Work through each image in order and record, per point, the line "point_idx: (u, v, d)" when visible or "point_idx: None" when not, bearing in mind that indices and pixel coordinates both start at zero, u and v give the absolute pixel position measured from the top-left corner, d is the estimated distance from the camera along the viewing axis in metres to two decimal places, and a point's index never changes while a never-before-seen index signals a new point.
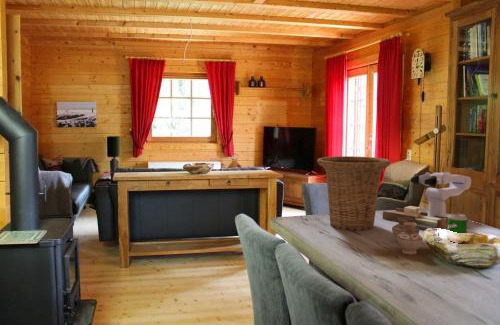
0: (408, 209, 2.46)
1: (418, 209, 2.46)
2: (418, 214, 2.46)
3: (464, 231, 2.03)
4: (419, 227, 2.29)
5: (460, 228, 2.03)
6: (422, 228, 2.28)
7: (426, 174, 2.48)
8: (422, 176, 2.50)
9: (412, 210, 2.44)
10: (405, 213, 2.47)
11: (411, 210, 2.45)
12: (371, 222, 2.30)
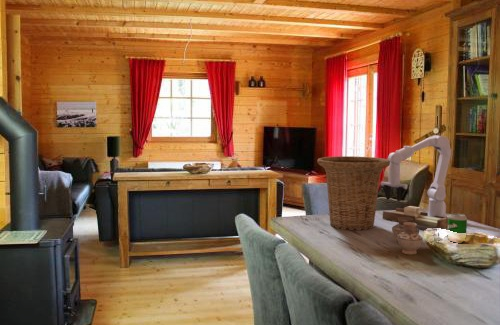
0: (408, 209, 2.46)
1: (418, 209, 2.46)
2: (418, 214, 2.46)
3: (464, 231, 2.03)
4: (419, 227, 2.29)
5: (460, 228, 2.03)
6: (422, 228, 2.28)
7: (390, 185, 2.53)
8: (388, 184, 2.55)
9: (412, 210, 2.44)
10: (405, 213, 2.47)
11: (411, 210, 2.45)
12: (371, 222, 2.30)
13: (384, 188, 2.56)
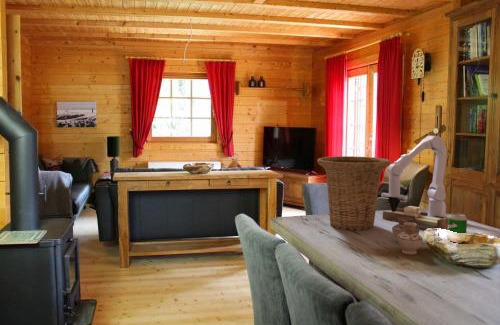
0: (408, 209, 2.46)
1: (418, 209, 2.46)
2: (418, 214, 2.46)
3: (464, 231, 2.03)
4: (419, 227, 2.29)
5: (460, 228, 2.03)
6: (422, 228, 2.28)
7: None
8: (388, 195, 2.55)
9: (412, 210, 2.44)
10: (405, 213, 2.47)
11: (411, 210, 2.45)
12: (371, 222, 2.30)
13: (389, 200, 2.54)
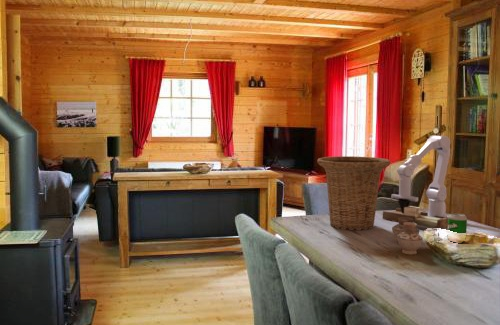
0: (408, 209, 2.46)
1: (418, 209, 2.46)
2: (418, 214, 2.46)
3: (464, 231, 2.03)
4: (419, 227, 2.29)
5: (460, 228, 2.03)
6: (422, 228, 2.28)
7: (401, 197, 2.49)
8: None
9: (412, 210, 2.44)
10: (405, 213, 2.47)
11: (411, 210, 2.44)
12: (371, 222, 2.30)
13: (399, 202, 2.50)
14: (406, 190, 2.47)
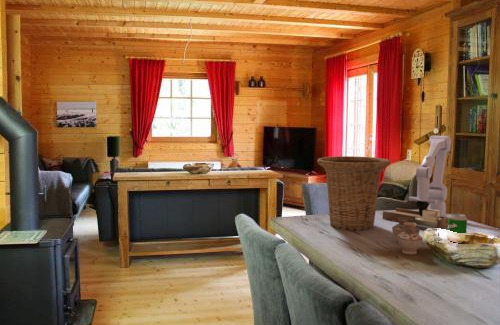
0: (427, 212, 2.38)
1: (437, 212, 2.38)
2: (437, 217, 2.38)
3: (464, 231, 2.03)
4: (419, 227, 2.29)
5: (460, 228, 2.03)
6: (422, 228, 2.28)
7: (419, 200, 2.41)
8: (416, 199, 2.44)
9: (431, 213, 2.36)
10: (424, 216, 2.39)
11: (430, 213, 2.37)
12: (371, 222, 2.30)
13: (418, 204, 2.42)
14: (425, 192, 2.40)
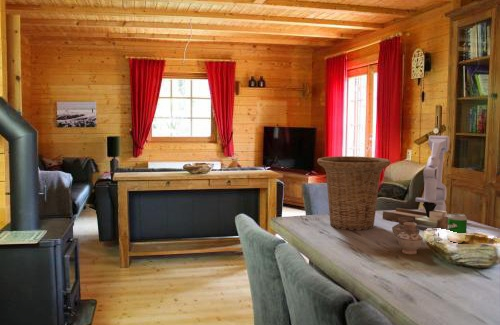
0: (434, 213, 2.35)
1: (444, 213, 2.35)
2: None
3: (464, 231, 2.03)
4: (419, 227, 2.29)
5: (460, 228, 2.03)
6: (422, 228, 2.28)
7: None
8: (423, 200, 2.41)
9: (438, 214, 2.34)
10: (431, 217, 2.37)
11: (437, 214, 2.34)
12: (371, 222, 2.30)
13: (425, 205, 2.39)
14: (432, 193, 2.37)
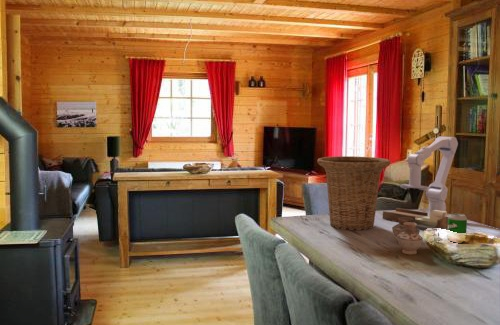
0: (434, 213, 2.35)
1: (445, 213, 2.35)
2: None
3: (464, 231, 2.03)
4: (419, 227, 2.29)
5: (460, 228, 2.03)
6: (422, 228, 2.28)
7: (411, 187, 2.45)
8: (408, 186, 2.47)
9: (439, 215, 2.34)
10: (431, 217, 2.37)
11: (437, 214, 2.34)
12: (371, 222, 2.30)
13: (410, 191, 2.46)
14: (416, 179, 2.44)
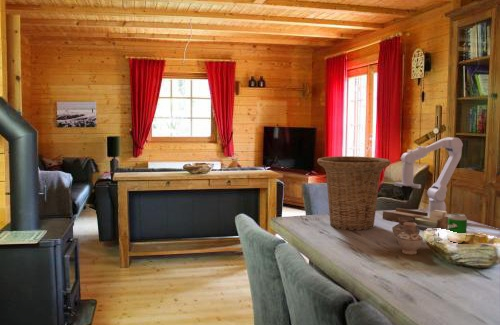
0: (434, 213, 2.35)
1: (445, 213, 2.35)
2: None
3: (464, 231, 2.03)
4: (419, 227, 2.29)
5: (460, 228, 2.03)
6: (422, 228, 2.28)
7: (403, 185, 2.52)
8: (401, 184, 2.55)
9: (439, 215, 2.34)
10: (431, 217, 2.37)
11: (437, 214, 2.34)
12: (371, 222, 2.30)
13: (402, 189, 2.53)
14: (409, 177, 2.51)
